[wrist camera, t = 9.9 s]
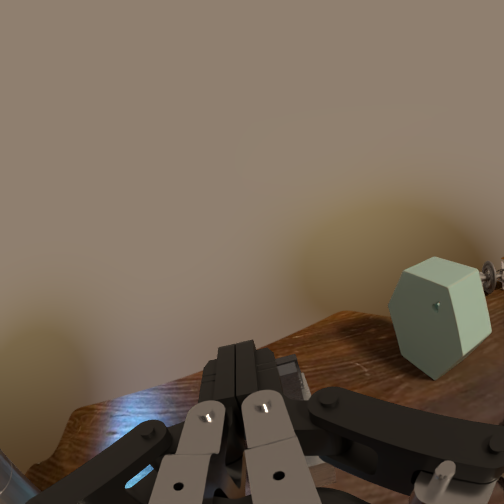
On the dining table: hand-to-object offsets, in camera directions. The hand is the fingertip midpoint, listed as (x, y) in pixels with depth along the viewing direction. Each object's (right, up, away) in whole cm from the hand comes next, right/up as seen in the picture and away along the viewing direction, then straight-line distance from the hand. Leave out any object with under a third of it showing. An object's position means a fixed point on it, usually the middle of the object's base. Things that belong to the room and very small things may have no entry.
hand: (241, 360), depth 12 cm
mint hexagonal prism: (+33, -15, +29) cm, 46 cm away
